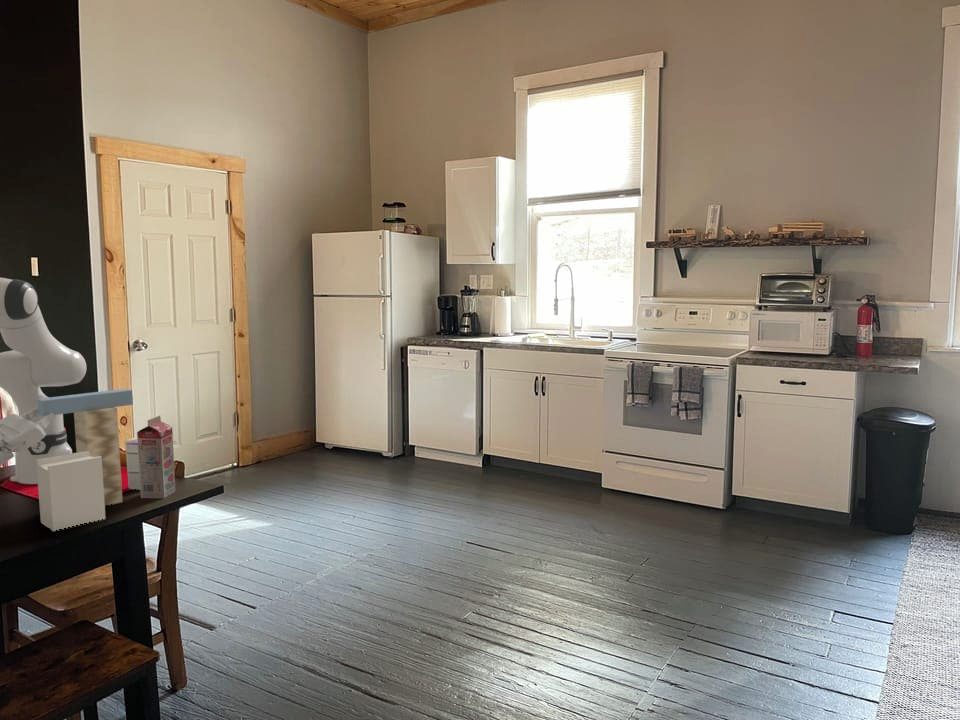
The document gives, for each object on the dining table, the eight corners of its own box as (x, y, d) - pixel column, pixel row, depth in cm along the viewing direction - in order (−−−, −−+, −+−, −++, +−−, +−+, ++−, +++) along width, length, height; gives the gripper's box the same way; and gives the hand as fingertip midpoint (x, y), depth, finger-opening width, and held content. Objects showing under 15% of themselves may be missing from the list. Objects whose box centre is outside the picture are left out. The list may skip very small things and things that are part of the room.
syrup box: (146, 490, 209) (143, 440, 207) (127, 489, 210) (124, 439, 208) (158, 484, 215) (155, 436, 213) (140, 483, 216) (137, 435, 214)
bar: (43, 416, 184) (42, 400, 184) (38, 414, 187) (37, 398, 186) (132, 404, 200) (132, 390, 200) (126, 402, 203) (125, 388, 202)
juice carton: (140, 497, 202) (136, 420, 200) (152, 490, 209) (148, 415, 206) (164, 498, 202) (160, 420, 199) (175, 491, 209) (171, 415, 206)
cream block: (53, 531, 176) (48, 466, 174) (40, 522, 182) (36, 459, 180) (105, 519, 185) (101, 456, 183) (91, 510, 191) (87, 450, 189)
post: (91, 509, 193) (85, 412, 189) (79, 502, 198) (73, 408, 195) (122, 502, 199) (116, 408, 195) (110, 495, 204) (105, 404, 201)
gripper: (-1, 444, 170) (53, 408, 178) (-25, 430, 184) (26, 397, 192) (16, 464, 173) (69, 427, 181) (-9, 449, 187) (41, 415, 195)
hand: (47, 412), depth 187 cm, fingers open, 8 cm apart
